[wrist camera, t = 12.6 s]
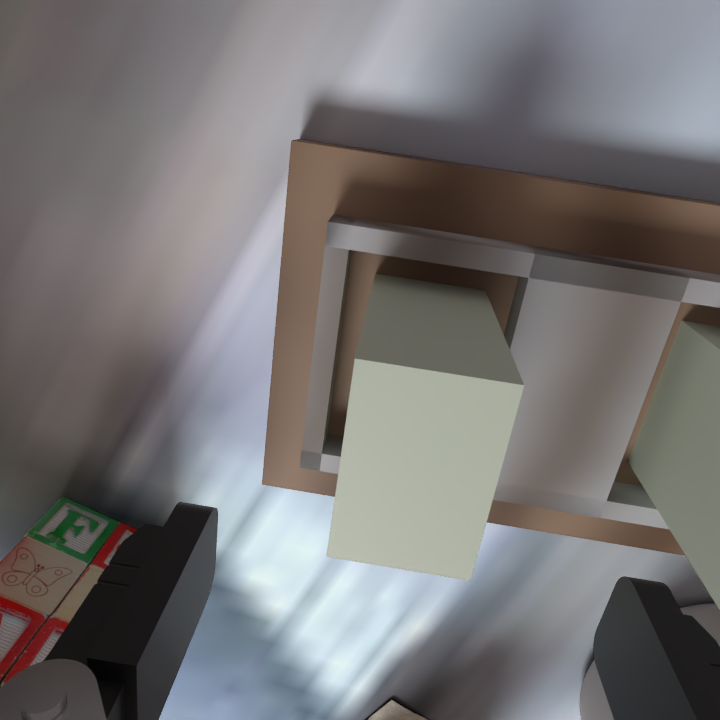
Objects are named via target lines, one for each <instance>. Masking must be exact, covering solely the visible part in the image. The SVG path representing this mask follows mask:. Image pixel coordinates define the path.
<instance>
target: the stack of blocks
mask: <svg viewBox="0 0 720 720" xmlns="http://www.w3.org/2000/svg"><path fill="white" fill-rule="evenodd" d="M136 531H137V529H135V528H133V527H130V526H128V525H126V524H124V523H120V522H118V521H115V520H113V519H111V518H109V517H106V516H104V515H102V514H100V513H98V512H96V511H93V510H91V509H89V508H87V507H85V506H82V505H80V504H78V503H76V502H73V501H71V500H69V499H67V498H65V497H61V498H60V499H59V500H58V501H57V502H56V503H55V504H54V505H53V506H52V507H51V508H50V509H49V510H48V511H47V512H46V513H45V514H44V515H43V516H42V517H41V518H40V519H39V520H38V521H37V522H36V523H35V524H34V525H33V526H32V527H31V528H30V529H29V530H28V531H27V532H26V533H25V535H24V537H23V540H22V541H21V542H20V543H19V544H18V545H17V546H16V547H15V548H14V549H13V550H12V551H11V552H10V553H9V554H8V555H7V556H6V557H5V558H4V559H3V560H2V561H1V562H0V688H1V687H2V686H3V685H4V684H5V683H6V682H7V681H8V680H9V679H10V678H12V677H13V676H14V675H16V674H17V673H19V672H20V671H22V670H24V669H25V668H27V667H29V666H32V665H34V664H36V663H39V662H42V661H43V660H44V659H45V658H46V656H47V655H48V654H49V653H50V651H51V650H52V648H53V647H54V645H55V643H56V642H57V640H58V639H59V637H60V636H61V634H62V633H63V631H64V630H65V628H66V627H67V625H68V624H69V622H70V621H71V619H72V618H73V616H74V615H75V613H76V612H77V610H78V609H79V607H80V606H81V604H82V603H83V601H84V600H85V598H86V597H87V595H88V593H89V592H90V590H91V589H92V587H93V586H94V584H97V581H98V578H99V577H100V575H101V574H102V572H103V571H104V569H105V568H106V566H108V565H109V562H110V560H111V559H112V557H113V556H114V554H115V553H116V551H117V550H118V548H119V547H120V545H121V543H122V542H123V541H124V540H125V539H126V538H128V537H129V536H130V535H132V534H133V533H134V532H136Z"/></svg>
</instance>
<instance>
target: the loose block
mask: <svg viewBox="0 0 720 720" xmlns="http://www.w3.org/2000/svg"><path fill="white" fill-rule="evenodd" d="M523 388H524V384H523V381H522V379H521V376H520V374H519V371H518V369H517V366H516V364H515V362H514V359H513V357H512V354H511V352H510V349H509V347H508V344H507V342H506V340H505V337H504V335H503V332H502V330H501V327H500V325H499V323H498V320H497V318H496V315H495V313H494V310H493V308H492V305H491V303H490V301H489V298H488V296H487V293H486V291H485V290H478V289H472V288H465V287H459V286H453V285H446V284H440V283H433V282H427V281H420V280H414V279H407V278H401V277H394V276H388V275H381V274H375V278H374V282H373V286H372V290H371V294H370V298H369V302H368V307H367V311H366V315H365V319H364V323H363V327H362V331H361V335H360V339H359V343H358V347H357V351H356V356H355V360H354V367H353V374H352V381H351V388H350V395H349V402H348V409H347V416H346V423H345V430H344V437H343V444H342V451H341V458H340V465H339V472H338V479H337V486H336V493H335V500H334V507H333V514H332V521H331V528H330V536H329V543H328V550H327V557H332V558H338V559H344V560H350V561H355V562H361V563H367V564H373V565H379V566H385V567H391V568H397V569H403V570H409V571H415V572H421V573H427V574H433V575H439V576H445V577H451V578H457V579H463V580H469V581H471V577H472V574H473V570H474V566H475V563H476V559H477V555H478V552H479V548H480V544H481V541H482V537H483V534H484V530H485V526H486V523H487V519H488V515H489V512H490V508H491V504H492V501H493V497H494V494H495V490H496V486H497V483H498V479H499V475H500V472H501V468H502V464H503V461H504V457H505V454H506V450H507V446H508V443H509V439H510V435H511V432H512V428H513V425H514V421H515V417H516V414H517V410H518V406H519V403H520V399H521V395H522V392H523Z"/></svg>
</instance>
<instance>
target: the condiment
mask: <svg viewBox="0 0 720 720" xmlns="http://www.w3.org/2000/svg"><path fill="white" fill-rule="evenodd" d="M368 720H427V719H426V718H424V717H422V716H419V715H418V714H414V713H412V712H411V711H410V710H408V709H406V708H404V707H402V706H401V705H399V704H397V703H396V702H394V701H393V700H391V701H390V702H388V703H387V704H386V705H385V706H383V707H382V708H381V709H380V710H379V711H377V712H376V713H375V714H373V715H372V716H371V717H370V718H369V719H368Z"/></svg>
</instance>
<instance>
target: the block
mask: <svg viewBox="0 0 720 720" xmlns="http://www.w3.org/2000/svg"><path fill="white" fill-rule="evenodd" d="M628 463H629V465H630V466H631V468H632V469H633V471H634V473H635V474H636V476H637V478H638V479H639V481H640V482H641V484H642V486H643V487H644V489H645V490H646V492H647V494H648V495H649V497H650V499H651V500H652V502H653V503H654V505H655V507H656V508H657V510H658V511H659V513H660V515H661V516H662V518H663V520H664V521H665V523H666V524H667V526H668V528H669V529H670V531H671V533H672V534H673V536H674V537H675V539H676V541H677V542H678V544H679V545H680V547H681V549H682V550H683V552H684V554H685V555H686V557H687V558H688V560H689V562H690V563H691V565H692V566H693V568H694V570H695V571H696V573H697V575H698V576H699V578H700V579H701V581H702V583H703V584H704V586H705V587H706V589H707V591H708V592H709V594H710V596H711V597H712V599H713V600H714V602H715V604H716V605H717V607H718V608H719V610H720V326H713V325H707V324H701V323H694V322H688V321H682V320H681V323H680V326H679V328H678V331H677V334H676V336H675V339H674V341H673V344H672V347H671V349H670V352H669V355H668V357H667V360H666V362H665V365H664V368H663V370H662V373H661V376H660V378H659V381H658V383H657V386H656V389H655V391H654V394H653V397H652V399H651V402H650V404H649V407H648V410H647V412H646V415H645V418H644V420H643V423H642V425H641V428H640V431H639V433H638V436H637V439H636V441H635V444H634V446H633V449H632V452H631V454H630V457H629V460H628Z"/></svg>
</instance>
